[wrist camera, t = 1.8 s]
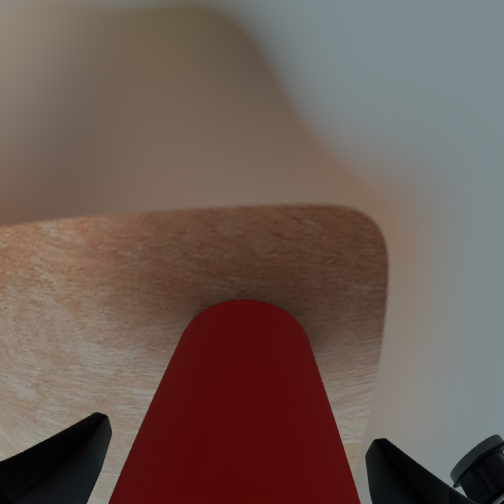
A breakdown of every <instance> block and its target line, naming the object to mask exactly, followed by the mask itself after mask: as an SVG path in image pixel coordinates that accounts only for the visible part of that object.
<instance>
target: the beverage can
mask: <svg viewBox="0 0 504 504" xmlns="http://www.w3.org/2000/svg"><path fill="white" fill-rule="evenodd" d="M109 504H361V503H360V500H359V497H358V493H357V490H356V487H355V483H354V480H353V476H352V473H351V470H350V467H349V463H348V460H347V457H346V454H345V450H344V447H343V444H342V441H341V438H340V434H339V431H338V428H337V425H336V422H335V419H334V416H333V413H332V410H331V406H330V403H329V400H328V397H327V394H326V391H325V388H324V385H323V382H322V379H321V376H320V373H319V370H318V367H317V364H316V361H315V358H314V355H313V352H312V349H311V346H310V344H309V341H308V338H307V336H306V333H305V332H304V330H303V328H302V327H301V325H300V324H299V323H298V322H297V321H296V320H295V319H294V318H293V317H292V316H291V315H290V314H289V313H287V312H286V311H285V310H283V309H282V308H280V307H278V306H276V305H273V304H271V303H268V302H264V301H259V300H252V299H238V300H230V301H225V302H222V303H218V304H216V305H213V306H211V307H209V308H207V309H205V310H204V311H202V312H201V313H199V314H198V315H197V316H196V317H195V318H194V319H193V320H192V321H191V322H190V323H189V325H188V326H187V327H186V329H185V331H184V332H183V334H182V336H181V339H180V341H179V343H178V345H177V347H176V349H175V351H174V354H173V356H172V358H171V360H170V362H169V364H168V367H167V369H166V371H165V373H164V375H163V378H162V380H161V382H160V384H159V386H158V389H157V391H156V393H155V395H154V397H153V400H152V402H151V404H150V406H149V409H148V411H147V413H146V415H145V418H144V420H143V422H142V425H141V427H140V429H139V431H138V434H137V436H136V438H135V441H134V443H133V445H132V448H131V450H130V452H129V455H128V457H127V459H126V462H125V464H124V467H123V469H122V471H121V474H120V476H119V479H118V481H117V483H116V486H115V488H114V491H113V493H112V496H111V498H110V501H109Z"/></svg>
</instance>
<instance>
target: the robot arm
mask: <svg viewBox="0 0 504 504" xmlns="http://www.w3.org/2000/svg"><path fill="white" fill-rule="evenodd" d="M111 436H112V429H111V425H110V421H109V418H108V416H107V415H105V414H102V413H99V412H96V413H93V414H92V415H90V416H88V417H86V418H85V419H83V420H81V421H79V422H78V423H76V424H74V425H72V426H70V427H69V428H67V429H65V430H63V431H61V432H59V433H57V434H56V435H54V436H52V437H50V438H48V439H46V440H44V441H42V442H40V443H39V444H37V445H35V446H33V447H31V448H29V449H27V450H25V451H23V452H21V453H19V454H17V455H15V456H12V457H10V458H8V459H6V460H3V461H0V504H87V502H88V499H89V497H90V495H91V492H92V490H93V488H94V485H95V483H96V481H97V479H98V476H99V474H100V472H101V469H102V466H103V463H104V459H105V456H106V453H107V449H108V446H109V443H110V440H111ZM503 451H504V444H502V445H500V446H497V447H495V448H493V449H491V450H489V451H487V452H485V453H482V454H480V455H479V456H478V457H477V458H476V459H475V460H474V462H473V463H472V464H471V465H470V467H469V468H468V469H467V470H466V471H465V473H464V474H463V475H462V476H461V477H460V478H459V479H458V481H457V482H456V483H455V484H454V485H453V488H457V487H459V486H461V487H462V488H463V490H464V492H465V494H466V496H467V497H468V498H467V497H465V496H464V495H462V494H460V493H459V492H457V491H456V490H455V489H453V488H452V487H450V486H449V485H447V484H446V483H444V482H443V481H442V480H440V479H439V478H437V477H436V476H435V475H433V474H432V473H430V472H429V471H428V470H426V469H425V468H424V467H422V466H421V465H420V464H418V463H417V462H416V461H414V460H413V459H412V458H410V457H409V456H408V455H406V454H405V453H404V452H403V451H401V450H400V449H399V448H397V447H396V446H395V445H394V444H392V443H391V442H390V441H388V440H387V439H385V438H381V439H375V440H374V441H373V442H372V444H371V446H370V447H369V449H368V451H367V453H366V456H365V459H366V467H367V475H368V483H369V491H370V495H371V500H372V503H373V504H498V503H499V502H500V501H501V500H503V499H504V453H503ZM499 504H504V500H503V501H502V502H501V503H499Z"/></svg>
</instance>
